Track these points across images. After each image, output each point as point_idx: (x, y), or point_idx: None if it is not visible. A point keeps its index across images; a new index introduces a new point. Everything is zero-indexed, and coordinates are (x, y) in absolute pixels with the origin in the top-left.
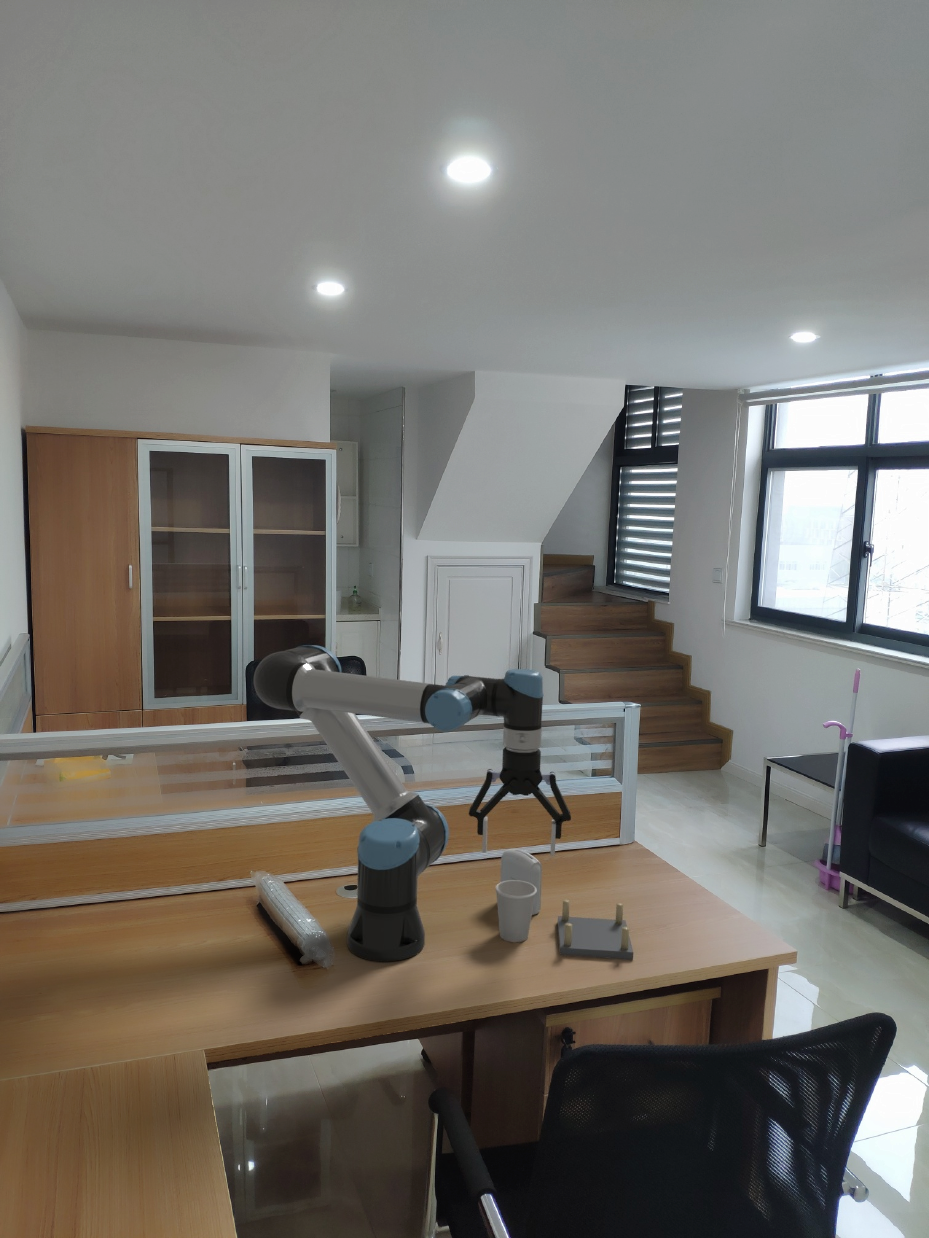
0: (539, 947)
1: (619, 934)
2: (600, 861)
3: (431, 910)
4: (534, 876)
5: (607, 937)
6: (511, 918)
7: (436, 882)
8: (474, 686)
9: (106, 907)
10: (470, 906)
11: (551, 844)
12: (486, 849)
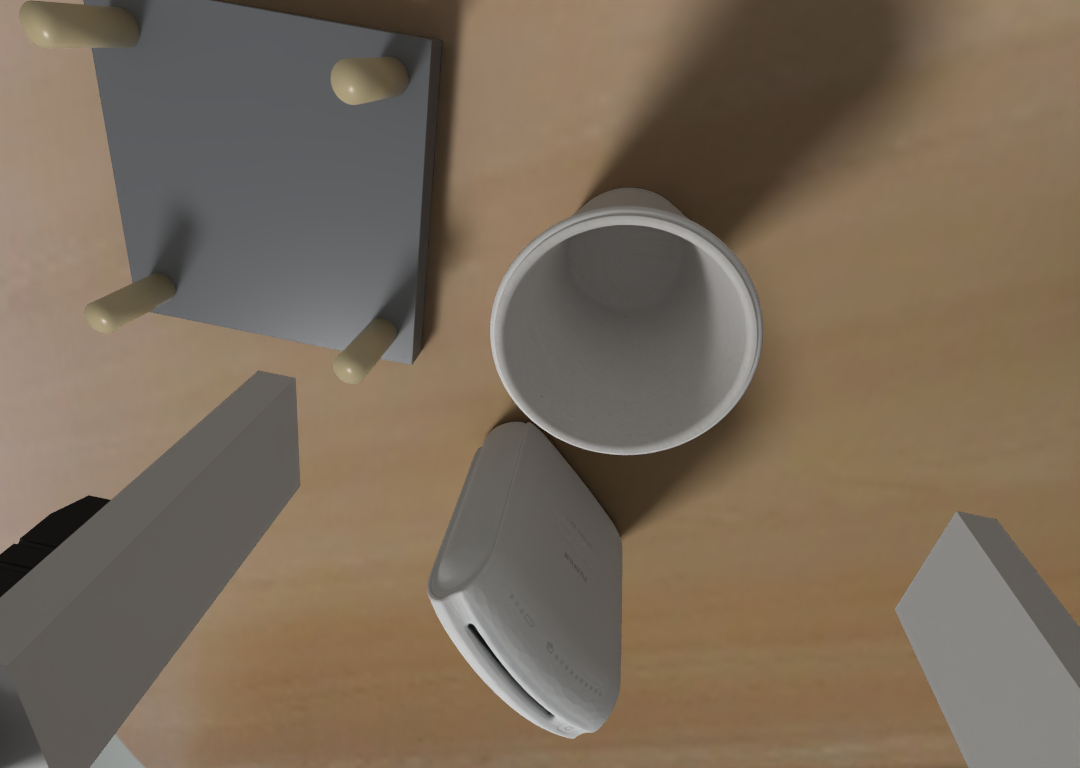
0: (529, 126)
1: (154, 178)
2: (249, 725)
3: (932, 494)
4: (476, 530)
5: (205, 148)
6: (664, 205)
7: (830, 682)
8: None
9: None
10: (752, 509)
11: (226, 444)
12: (923, 571)
